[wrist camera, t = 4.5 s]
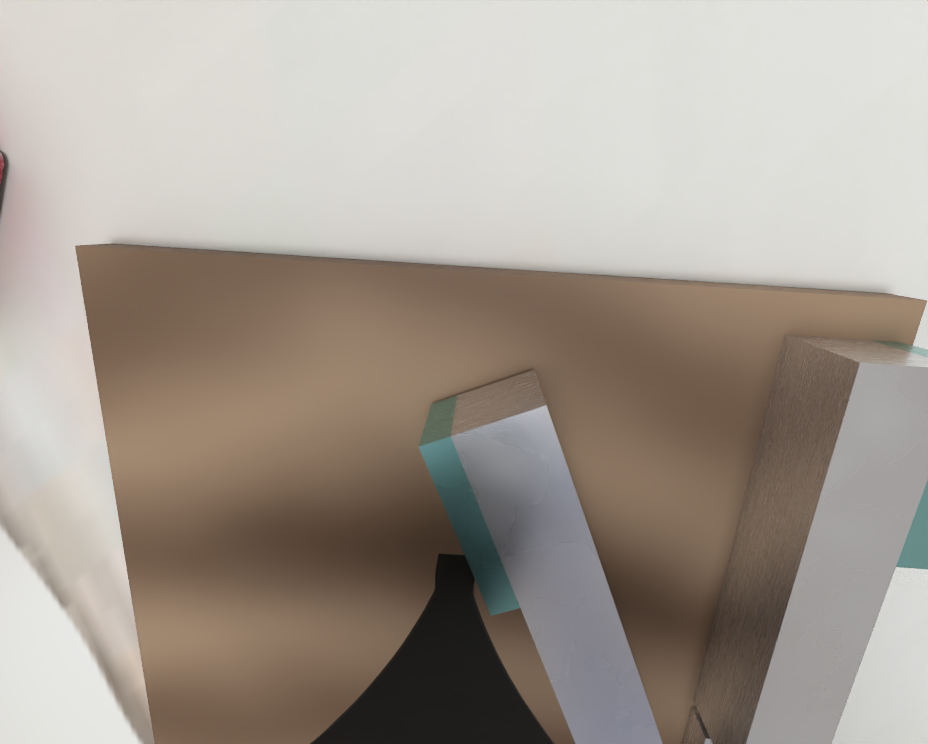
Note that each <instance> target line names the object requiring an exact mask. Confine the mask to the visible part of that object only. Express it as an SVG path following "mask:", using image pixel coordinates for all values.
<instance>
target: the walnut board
mask: <svg viewBox="0 0 928 744" xmlns="http://www.w3.org/2000/svg"><path fill="white" fill-rule="evenodd" d="M75 247H76V254H77V260H78V266H79V272H80V279H81V285H82V291H83V297H84V304H85V310H86V316H87V322H88V329H89V335H90V341H91V347H92V354H93V360H94V366H95V372H96V379H97V385H98V391H99V397H100V404H101V410H102V416H103V422H104V429H105V435H106V441H107V447H108V454H109V460H110V466H111V472H112V479H113V485H114V491H115V497H116V504H117V510H118V516H119V522H120V529H121V535H122V541H123V547H124V554H125V560H126V566H127V572H128V579H129V585H130V591H131V597H132V604H133V610H134V616H135V622H136V629H137V635H138V641H139V647H140V654H141V660H142V666H143V672H144V679H145V685H146V691H147V697H148V704H149V710H150V716H151V722H152V729H153V735H154V741H155V744H310V743H311V742H313V741H314V740H315V739H316V738H317V737H318V736H320V735H321V734H322V733H323V732H324V731H325V730H326V729H327V728H328V727H329V726H330V725H331V724H332V723H333V722H334V721H335V720H336V719H338V718H339V717H340V716H341V715H342V714H343V713H344V712H345V711H346V710H347V709H348V708H349V707H350V706H351V705H352V704H353V703H354V702H355V701H356V700H357V699H358V698H359V696H360V695H361V694H362V693H363V692H364V691H365V690H366V689H367V688H368V686H369V685H370V684H371V683H372V682H373V681H374V679H375V678H376V677H377V676H378V675H379V674H380V672H381V671H382V670H383V669H384V668H385V666H386V665H387V664H388V662H389V661H390V660H391V659H392V657H393V656H394V655H395V653H396V652H397V651H398V649H399V648H400V646H401V645H402V643H403V642H404V641H405V639H406V638H407V636H408V635H409V633H410V631H411V630H412V628H413V627H414V625H415V624H416V622H417V620H418V619H419V617H420V616H421V614H422V612H423V611H424V609H425V607H426V605H427V603H428V601H429V599H430V598H431V596H432V594H433V592H434V590H435V571H436V565H437V559H438V554H439V553H440V554H455V555H464V552H463V550H462V548H461V545H460V543H459V541H458V538H457V536H456V534H455V531H454V529H453V526H452V524H451V522H450V519H449V517H448V515H447V512H446V510H445V508H444V505H443V503H442V501H441V498H440V496H439V494H438V491H437V489H436V487H435V484H434V482H433V480H432V477H431V475H430V473H429V470H428V468H427V466H426V463H425V461H424V459H423V456H422V454H421V452H420V449H419V443H420V440H421V437H422V433H423V430H424V427H425V423H426V420H427V417H428V413H429V410H430V407H431V404H433V403H436V402H439V401H442V400H445V399H448V398H450V397H453V396H456V395H459V394H462V393H465V392H468V391H471V390H474V389H477V388H480V387H483V386H486V385H489V384H492V383H495V382H498V381H501V380H504V379H507V378H510V377H513V376H516V375H519V374H522V373H525V372H528V371H531V370H535V372H536V375H537V378H538V381H539V384H540V387H541V390H542V393H543V396H544V399H545V402H546V405H547V407H548V410H549V413H550V416H551V419H552V422H553V425H554V428H555V431H556V434H557V437H558V439H559V442H560V445H561V448H562V451H563V454H564V457H565V460H566V463H567V466H568V469H569V471H570V474H571V477H572V480H573V483H574V486H575V489H576V492H577V495H578V498H579V501H580V503H581V506H582V509H583V512H584V515H585V518H586V521H587V524H588V527H589V530H590V533H591V535H592V538H593V541H594V544H595V547H596V550H597V553H598V556H599V559H600V562H601V565H602V568H603V570H604V573H605V576H606V579H607V582H608V585H609V588H610V591H611V594H612V597H613V600H614V602H615V605H616V608H617V611H618V614H619V617H620V620H621V623H622V626H623V629H624V632H625V634H626V637H627V640H628V643H629V646H630V649H631V652H632V655H633V658H634V661H635V664H636V666H637V669H638V672H639V675H640V678H641V681H642V684H643V687H644V690H645V693H646V696H647V698H648V701H649V704H650V707H651V710H652V713H653V716H654V719H655V722H656V725H657V728H658V731H659V734H660V737H661V740H662V742H663V744H682V743H683V739H684V735H685V731H686V727H687V723H688V719H689V715H690V711H691V707H692V706H696V705H695V702H694V700H693V699H694V695H695V691H696V687H697V683H698V679H699V675H700V671H701V667H702V663H703V659H704V655H705V651H706V647H707V643H708V639H709V635H710V631H711V627H712V623H713V619H714V615H715V611H716V607H717V603H718V599H719V595H720V591H721V587H722V583H723V579H724V575H725V571H726V567H727V563H728V559H729V555H730V551H731V547H732V543H733V539H734V535H735V531H736V527H737V523H738V519H739V515H740V511H741V507H742V503H743V499H744V495H745V491H746V487H747V483H748V479H749V475H750V471H751V467H752V463H753V459H754V455H755V451H756V447H757V443H758V439H759V435H760V431H761V427H762V423H763V419H764V415H765V411H766V407H767V403H768V399H769V395H770V391H771V387H772V383H773V379H774V375H775V371H776V367H777V363H778V359H779V355H780V351H781V347H782V343H783V339H784V335H785V334H786V335H801V336H816V337H831V338H846V339H861V340H877V341H892V342H902V343H905V344H909V345H913V342H914V339H915V336H916V333H917V330H918V327H919V324H920V321H921V318H922V315H923V312H924V309H925V306H926V303H927V301H926V300H921V299H915V298H909V297H904V296H898V295H892V294H886V293H871V292H855V291H839V290H824V289H808V288H793V287H777V286H762V285H746V284H730V283H715V282H699V281H684V280H668V279H653V278H637V277H621V276H606V275H590V274H575V273H559V272H544V271H528V270H512V269H497V268H481V267H466V266H450V265H435V264H419V263H404V262H388V261H372V260H357V259H341V258H326V257H310V256H295V255H279V254H263V253H248V252H232V251H217V250H201V249H186V248H170V247H154V246H139V245H123V244H98V245H80V246H75ZM474 597H475V601H476V603H477V606H478V609H479V612H480V614H481V617H482V620H483V622H484V625H485V627H486V630H487V632H488V634H489V636H490V639H491V641H492V643H493V645H494V647H495V650H496V652H497V654H498V656H499V658H500V660H501V662H502V664H503V665H504V667H505V669H506V671H507V673H508V675H509V676H510V678H511V680H512V682H513V683H514V685H515V687H516V688H517V690H518V692H519V693H520V695H521V697H522V698H523V700H524V701H525V703H526V704H527V706H528V707H529V709H530V710H531V712H532V713H533V714H534V716H535V717H536V719H537V720H538V722H539V723H540V725H541V726H542V728H543V729H544V730H545V732H546V733H547V735H548V736H549V737H550V739H551V740H552V741H553V742H554V744H575V741H574V739H573V736H572V734H571V731H570V729H569V726H568V724H567V722H566V719H565V717H564V714H563V712H562V709H561V707H560V704H559V702H558V699H557V697H556V694H555V692H554V689H553V687H552V685H551V682H550V680H549V677H548V675H547V672H546V670H545V667H544V665H543V662H542V660H541V657H540V655H539V653H538V650H537V648H536V645H535V643H534V640H533V638H532V635H531V633H530V630H529V628H528V625H527V623H526V621H525V618H524V616H523V613H522V611H521V608H518V609H515V610H511V611H507V612H503V613H500V614H496V615H492V616H491V615H490V613H489V611H488V608H487V606H486V604H485V601H484V599H483V597H482V594H481V592H480V590H479V587H478V585H477V583H476V580H475V583H474Z"/></svg>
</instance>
